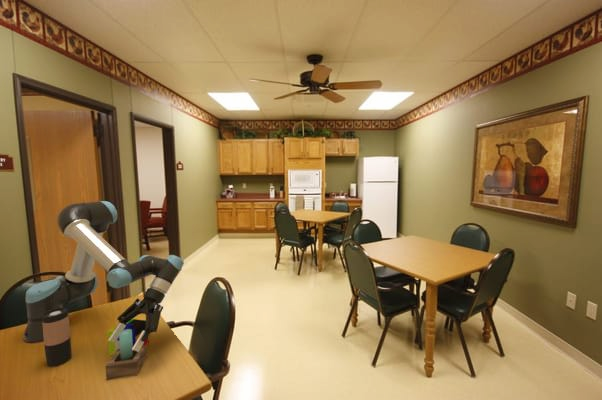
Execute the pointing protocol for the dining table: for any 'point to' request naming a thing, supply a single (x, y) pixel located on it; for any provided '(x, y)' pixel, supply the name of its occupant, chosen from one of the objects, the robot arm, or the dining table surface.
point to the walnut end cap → (125, 364)
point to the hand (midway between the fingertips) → (122, 346)
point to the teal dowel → (126, 345)
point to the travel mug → (56, 336)
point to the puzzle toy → (137, 329)
